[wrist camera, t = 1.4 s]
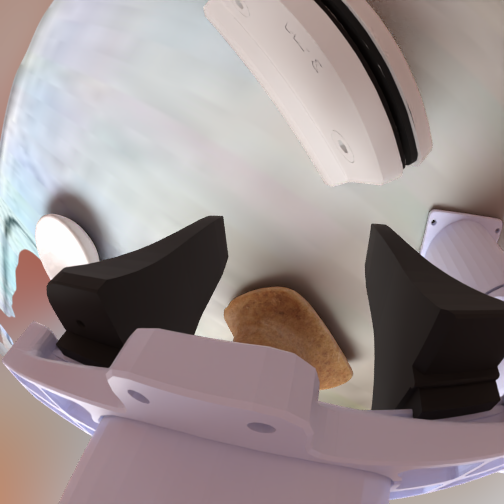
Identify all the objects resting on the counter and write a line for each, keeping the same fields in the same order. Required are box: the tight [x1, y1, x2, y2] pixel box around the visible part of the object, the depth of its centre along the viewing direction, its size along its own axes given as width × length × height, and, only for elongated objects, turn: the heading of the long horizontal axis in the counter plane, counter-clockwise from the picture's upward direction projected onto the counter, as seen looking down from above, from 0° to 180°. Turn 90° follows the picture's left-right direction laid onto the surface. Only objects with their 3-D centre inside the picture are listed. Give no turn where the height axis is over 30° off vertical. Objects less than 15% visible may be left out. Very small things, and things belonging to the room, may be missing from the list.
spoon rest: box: [35, 214, 100, 280], centre depth 31 cm, size 24×12×7 cm, turn 26°
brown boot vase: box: [224, 287, 353, 390], centre depth 24 cm, size 15×12×15 cm
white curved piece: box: [203, 0, 433, 187], centre depth 13 cm, size 17×5×10 cm, turn 35°
